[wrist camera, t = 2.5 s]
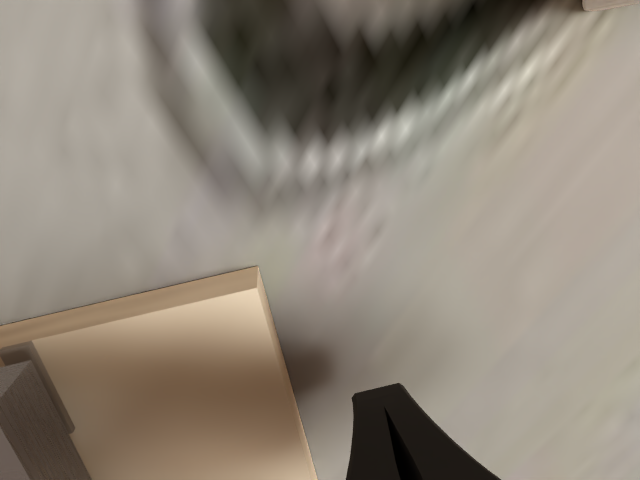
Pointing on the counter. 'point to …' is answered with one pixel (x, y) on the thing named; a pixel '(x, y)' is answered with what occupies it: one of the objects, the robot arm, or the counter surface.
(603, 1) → the syrup box
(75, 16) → the counter surface
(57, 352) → the cutting board
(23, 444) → the grey bar with knob
